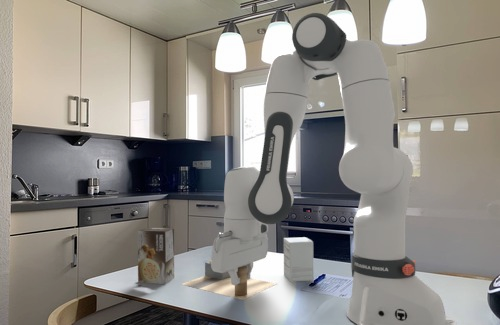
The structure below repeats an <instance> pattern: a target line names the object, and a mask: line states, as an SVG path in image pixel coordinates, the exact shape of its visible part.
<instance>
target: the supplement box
mask: <svg viewBox="0 0 500 325" xmlns="http://www.w3.org/2000/svg"><path fill="white" fill-rule="evenodd" d="M314 273H315V272H314V241H313V240H312V239H310V238H308V237H305V236H303V237H283V276H284V277H285V278H286V279H287V280H288V281H289V282H291V283H292V282H308V283H314V279H315V276H314V275H315V274H314Z"/></svg>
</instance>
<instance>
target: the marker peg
mask: <svg viewBox="0 0 500 325" xmlns="http://www.w3.org/2000/svg"><path fill="white" fill-rule="evenodd" d="M236 273H237V276H238V277H240V284H238V285H235V295H236V296H246V295H247V266H245V265H244V266H241V267H238V272H236Z"/></svg>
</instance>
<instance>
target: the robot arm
mask: <svg viewBox="0 0 500 325" xmlns="http://www.w3.org/2000/svg"><path fill="white" fill-rule="evenodd" d="M291 36H292V37H291V40H292V46H293V48H294V50H295V51H292V52H285V53H280V54H278V55H277V56H275V57H274V59H273V60H272V61H271V64H270V68H269V72H268V74H267V75H268V76H267V80H266V84H265V91H264V98H263V99H264V100H263V122H264V123H263V126H264V140H263V141H264V142H263V148H262V154H261V155H262V156H261V163H260V169H259V170H258V169H257V168H256V167H255V166H253V165H246V166H239V167H236V168H235V167H234V168H231V169H230V170H229V171H228V172H227V173H226V175H225V178H224V179H225V180H224V186H223V187H224V191H223V201H224V202H223V203H224V206H225V211H224V215H223V232H219V233H218V234H217V236H216V237H215V239H214V240H213V243H212V249H211V256H210V257H211V258H210V261H211V268H212V270H213V271H215V272H219V273H224V272H227V271H228V273H229V275H230V277H231V284H232V285H238V284H240V277H238V276H237V273H236V272H238V267H241V266H244V265H245V266H247V280H250V278H251V273H252V270H253V268H254V262H255V263H256V262H258V261H260V260H264V259H266V258H267V255H268V251H269V250H268V249H269V242H268V240H269V238H268V234H267V233H268V232H269V225H275V224H278V223H280V222H283V221H284V220H286V218H287V217H288V215H289V214H290V213H291V208H292V206H293V204H294V200H295V195H294V191H293V189H292V187H291V185H290V184H288V182H287V180H288V178H287V176H288V169H289V161H290V160H289V159H290V153H291V145H292V143H293V139H294V137H295V135H296V134H297V132H298V130H300V128H301V127H302V125H303V121H304V120H305V115H306V111H307V107H308V106H307V105H308V99H309V89H310V83H311V81H312V80H314V81H319V80H322V79H326V78H330V77H334V76H337V78H338V82H339V89H340V93H341V94H340V95H341V101H342V109H343V115H344V124H345V132H344V134H345V135H344V148H343V155H342V157H341V159H340V160H339V165H338V172H339V177H340V180H341V182H342V183H343V185H345V187H347V188H348V189H349V190H352V191H354V192H356V193H358V194H360V198H359V204H358V208H357V211H356V213H355V215H354V218H353V252H352V254H351V261H350V262H351V263H350V264H351V265H350V267H351V268H350V269H351V276H352V285H351V286H352V287H351V293H350V294H351V295H350V299H349V304H348V308H347V311H346V316H347V318H348V319H349V320H350V321H352V322H353V323H355V325H458V323H457V322H456V321H455V320H454V319H453V318H452V317H450V316H448V315H446V311H445V306H444V303H443V299H442V297H441V296H440V295H439V293H437V292H436V291H435V290H434V289H432V288H431V287H430V286H428V284H426V283H425V282H424V281H423V280H421V279H420V278H419V277H418V276H417V275H416V265H417V264H416V259H413V260H412V259H410V258H409V257H408V256H407V255H406V219H407V218H406V217H407V210H408V205H409V197H410V192H411V191H410V190H411V189H410V188H411V181H412V177H413V173H414V168H413V167H414V165H413V162H412V161H411V159H410V157H409V156H408V155H407V154H406V153H405V152H404V151H403V150H402V149H399V148H397V147H395V146H394V123H395V119H396V110H395V104H394V98H393V92H392V87H391V80H390V75H389V71H388V68H387V67H388V66H387V63H386V61H385V58H384V55H383V53H382V50H381V48H380V46H379V45H378V43H376V42H375V41H373V40H371V39H366V38H365V39H364V38H363V39H358V40H352V41H351V40H348V39H347V34H346V32H344V30H342V28H341V27H340V26H339V25H338V24H337V23H336V22H335V21H334V20H333V19H332V18H331V17H329V16H328V15H326V14H323V13H320V12H312V13H308V14H306V15H304V16H303V17H301V18H300V19H299V20H298V21H297V22H296V24H295V25H294V27H293V29H292V35H291Z"/></svg>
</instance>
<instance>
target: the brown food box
mask: <svg viewBox="0 0 500 325" xmlns="http://www.w3.org/2000/svg"><path fill="white" fill-rule="evenodd" d="M173 279H175V228H173V227H145V228H142V229H138V230H137V281H138V283H148V284H149V283H150V284H160V285H161V284H163V285H167V284H168V283H170V282H171V281H173ZM137 286H138V287H143V285H142V284H138V285H137Z"/></svg>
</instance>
